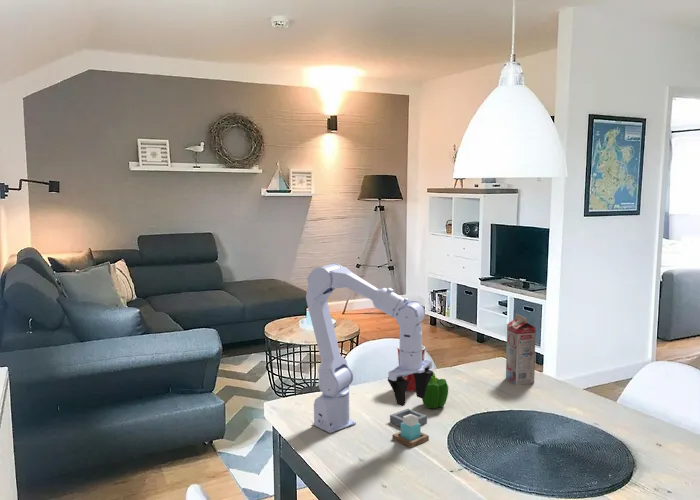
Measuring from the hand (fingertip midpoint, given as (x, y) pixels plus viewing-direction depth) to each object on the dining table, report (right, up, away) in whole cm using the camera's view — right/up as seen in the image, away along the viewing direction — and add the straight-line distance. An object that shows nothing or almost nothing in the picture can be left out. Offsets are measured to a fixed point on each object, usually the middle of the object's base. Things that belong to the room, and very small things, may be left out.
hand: (410, 401), depth 152 cm
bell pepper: (+9, -8, +23) cm, 26 cm away
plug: (0, -10, 0) cm, 10 cm away
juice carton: (+41, -5, +44) cm, 61 cm away
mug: (+4, -6, +37) cm, 38 cm away
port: (0, -9, +11) cm, 14 cm away
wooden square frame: (0, -10, 0) cm, 10 cm away
